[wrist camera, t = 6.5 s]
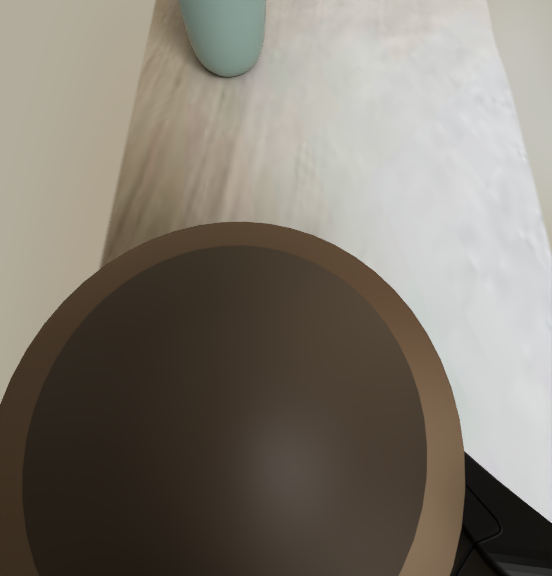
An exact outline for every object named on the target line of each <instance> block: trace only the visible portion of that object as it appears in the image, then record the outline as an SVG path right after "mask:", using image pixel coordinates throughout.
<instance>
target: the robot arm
mask: <svg viewBox="0 0 552 576" xmlns="http://www.w3.org/2000/svg"><path fill="white" fill-rule="evenodd" d="M464 460H465V497H464V507H463V518H462V528H461V532H460V537H459V541H458V546H457V551H456V555H455V560H454V564H453V568H452V570H451V573H450V576H552V523H551V522H549V521H548V520H547V519H546V518H544V517H543V516H542V515H541V514H539V513H538V512H537V511H536V510H534V509H533V508H532V507H530V506H529V505H528V504H527V503H525V502H524V501H523V500H522V499H520V498H519V497H518V496H517V495H515V494H514V493H513V492H512V491H510V490H509V489H508V488H507V487H506V486H504V485H503V484H502V483H501V482H499V481H498V480H497V479H496V478H495V477H493V476H492V475H491V474H490V473H489V472H488V471H486V470H485V469H484V468H483V467H482V466H481V465H479V464H478V463H477V462H476V461H475V460H474V459H473V458H471V457H470V456H469V455H468V454H467V453H466V452H465V451H464Z"/></svg>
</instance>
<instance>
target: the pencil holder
mask: <svg viewBox="0 0 552 576" xmlns="http://www.w3.org/2000/svg"><path fill="white" fill-rule="evenodd" d="M464 497H465V460H464V447H463V440H462V433H461V426H460V419H459V415H458V411H457V408H456V404H455V400H454V396H453V392H452V388H451V386H450V383H449V380H448V378H447V375H446V373H445V370H444V367H443V365H442V362H441V360H440V358H439V356H438V354H437V352H436V350H435V348H434V346H433V344H432V342H431V340H430V338H429V336H428V334H427V333H426V331H425V330H424V328H423V327H422V325H421V324H420V322H419V321H418V319H417V318H416V316H415V315H414V313H413V312H412V310H411V309H410V308H409V307H408V306H407V304H406V303H405V302H404V301H403V300H402V298H401V297H400V296H399V295H398V294H397V293H396V291H395V290H394V289H393V288H392V287H391V286H390V285H389V284H387V283H386V282H385V281H384V280H383V279H382V278H381V277H380V276H379V275H378V274H377V273H376V272H375V271H373V270H372V269H371V268H369V267H368V266H367V265H365V264H364V263H363V262H361V261H360V260H359V259H357V258H356V257H354V256H353V255H351V254H349V253H348V252H346V251H344V250H342V249H341V248H339V247H337V246H336V245H334V244H331V243H329V242H327V241H325V240H322V239H320V238H318V237H316V236H313V235H310V234H307V233H304V232H301V231H298V230H295V229H291V228H287V227H282V226H277V225H272V224H264V223H253V222H221V223H214V224H206V225H199V226H194V227H190V228H186V229H182V230H178V231H174V232H172V233H169V234H166V235H163V236H161V237H158V238H155V239H152V240H150V241H148V242H146V243H144V244H142V245H140V246H138V247H136V248H133V249H131V250H129V251H128V252H126V253H124V254H123V255H121V256H120V257H118V258H116V259H115V260H113V261H111V262H110V263H108V264H107V265H105V266H104V267H103V268H101V269H100V270H99V271H97V272H96V273H95V274H94V275H93V276H91V277H90V278H88V279H87V280H86V281H85V282H83V283H82V284H81V285H80V286H79V287H78V288H77V289H76V290H75V291H74V292H73V293H72V294H71V295H70V296H69V297H68V298H67V299H66V300H65V301H64V302H63V303H62V304H61V305H60V306H59V307H58V309H57V310H56V311H55V312H54V313H53V315H52V316H51V317H50V318H49V319H48V320H47V322H46V323H45V324H44V325H43V327H42V328H41V330H40V331H39V333H38V334H37V336H36V337H35V338H34V340H33V341H32V343H31V344H30V346H29V347H28V349H27V350H26V352H25V354H24V356H23V357H22V359H21V361H20V363H19V365H18V367H17V369H16V370H15V372H14V374H13V376H12V378H11V380H10V382H9V385H8V387H7V389H6V392H5V395H4V397H3V399H2V402H1V404H0V576H450V573H451V570H452V568H453V564H454V560H455V555H456V551H457V546H458V541H459V537H460V532H461V528H462V518H463V507H464Z"/></svg>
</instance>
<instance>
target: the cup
mask: <svg viewBox="0 0 552 576" xmlns="http://www.w3.org/2000/svg"><path fill="white" fill-rule="evenodd" d="M178 3H179V7H180V11H181V15H182V19H183V23H184V26H185V29H186V33H187V35H188V38H189V41H190V44H191V46H192V49H193V51H194V52H195V54H196V56H197V58H198V59H199V61H200V62H201V63H202V64H203V66H204V67H206V68H207V69H208V70H209V71H211V72H212V73H214V74H217V75H219V76H224V77H233V76H237V75H240V74H243V73H245V72H246V71H248V70H250V69H251V68H252V67H253V66H254V65H255V63H256V62H257V61H258V58H259V56H260V54H261V51H262V47H263V42H264V34H265V21H266V0H178Z"/></svg>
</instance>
